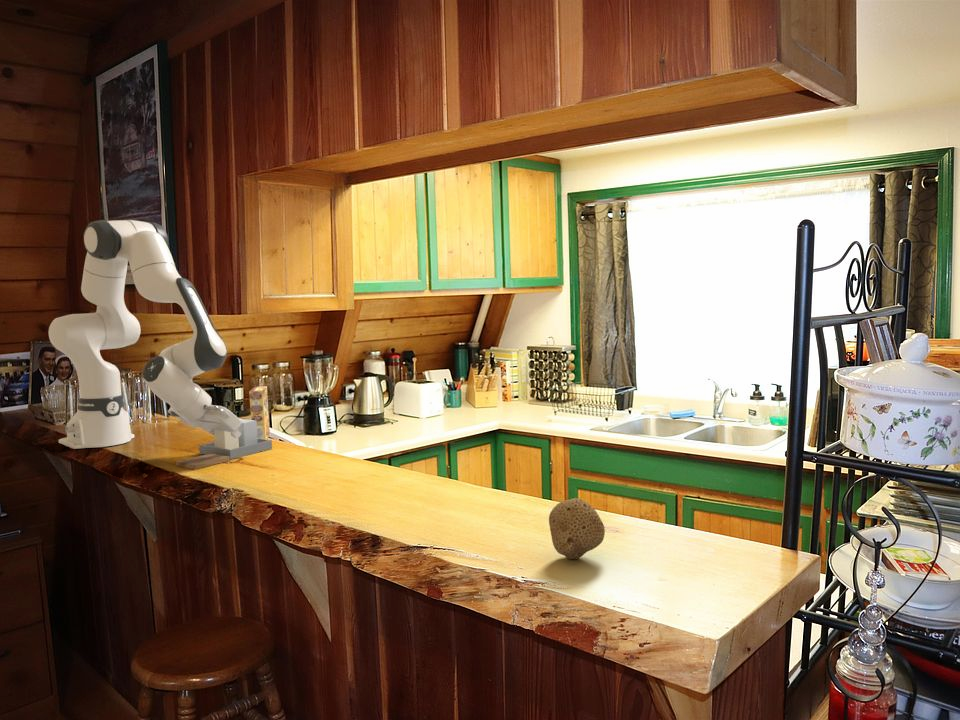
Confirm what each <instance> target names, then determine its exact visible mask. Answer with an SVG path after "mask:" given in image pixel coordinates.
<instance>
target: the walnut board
mask: <svg viewBox="0 0 960 720" xmlns="http://www.w3.org/2000/svg"><path fill="white" fill-rule="evenodd" d="M227 461H228V462H230V461H231V459H230V457H229V456H223V455H217V454H211V453H210V454H205V455H202V454H200V455H198V456H192V457H189V458H185V459H181V460H176V461H175V465H176V467H180V468H185V469H190V470H195V469H196V470H199V469H198V468H200V469H203V468H202V467H204V468H207V467H206V466H208V467H210V466H209V465H212V466H214V465H213V464H216V465H218V464H217V463H220V464H223V463H222V462H224V463H227Z"/></svg>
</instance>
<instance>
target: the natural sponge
mask: <svg viewBox="0 0 960 720" xmlns="http://www.w3.org/2000/svg"><path fill="white" fill-rule="evenodd" d="M548 524H549V530H550V535H551V541H552V545H553V548H554V549H555V551H556V552H557V553H558V554H559V555H561V556H564V557H565V558H567V559H569V560H577V559H579V558H582V557H583V556H584V555H585V554H586V553H587V552H590V551H592V550H594V549H596V548H597V547H599V546H600V545H601V544H602V542H603V541H604V537H605V531H606V530H605V528H606V527H605V525H604V522H603V520H602V519H601V517H600V516H599V514H598V512H597V511H596V509H595V508H594V507H593V506H592V505H591V504H590V503H589V502H587V501H585V500H584V499H581V498H576V497H573V498H570V499H566V500H562V501H560V502H558V503H557V504H556V505H555V506H554V507H553V508H552V510H551V511H550V513H549V516H548Z"/></svg>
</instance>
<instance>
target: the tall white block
mask: <svg viewBox="0 0 960 720" xmlns="http://www.w3.org/2000/svg"><path fill="white" fill-rule="evenodd" d="M240 420H241V425H240V426H239V428H238V431H239V432H240V433H241V435H240V437H239V447H243V446H247V445H251V444H256V443H258V438H257V421H255V420H251V419H240Z"/></svg>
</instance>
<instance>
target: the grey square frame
mask: <svg viewBox="0 0 960 720" xmlns="http://www.w3.org/2000/svg"><path fill="white" fill-rule="evenodd" d="M198 449H199V450H198V451H199V455H202V454H204V455H205V454H210V453H211V454H217V455H223V456H229V457H230V460H234V459H237V457H238V458H241V456H242V457H245V456H249V455H253V454H258V453H261V452H260V451H262V452H265V451H264V450H266V451H269V450H268V449H270V450H273V440H272V439H268V438H267V439H260V438H258V443H256V444H251V445H247V446H243V447H239V448H234V449H224V448H218V447H215V442H214V441H213V442H208V443H203V444H199V445H198ZM257 452H258V453H257ZM233 458H234V459H233Z"/></svg>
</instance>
